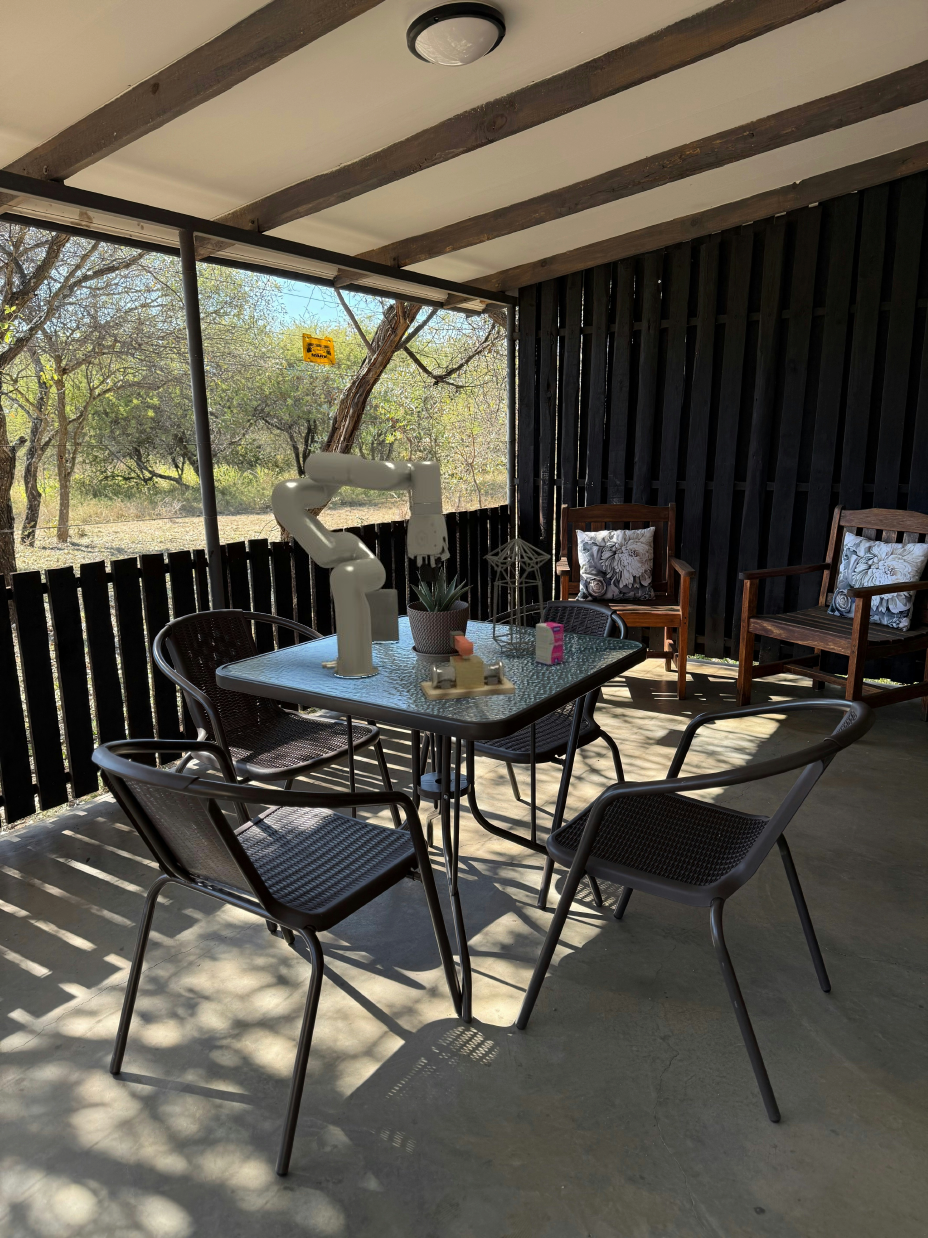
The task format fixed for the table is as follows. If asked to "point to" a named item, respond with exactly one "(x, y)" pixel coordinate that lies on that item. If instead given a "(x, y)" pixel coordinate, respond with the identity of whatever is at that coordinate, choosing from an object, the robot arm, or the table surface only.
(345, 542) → the robot arm
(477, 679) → the pipe valve
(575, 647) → the table surface
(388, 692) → the table surface
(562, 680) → the table surface
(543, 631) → the supplement box
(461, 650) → the valve lever
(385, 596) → the flask
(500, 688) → the mounting board
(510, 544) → the geometric lantern
